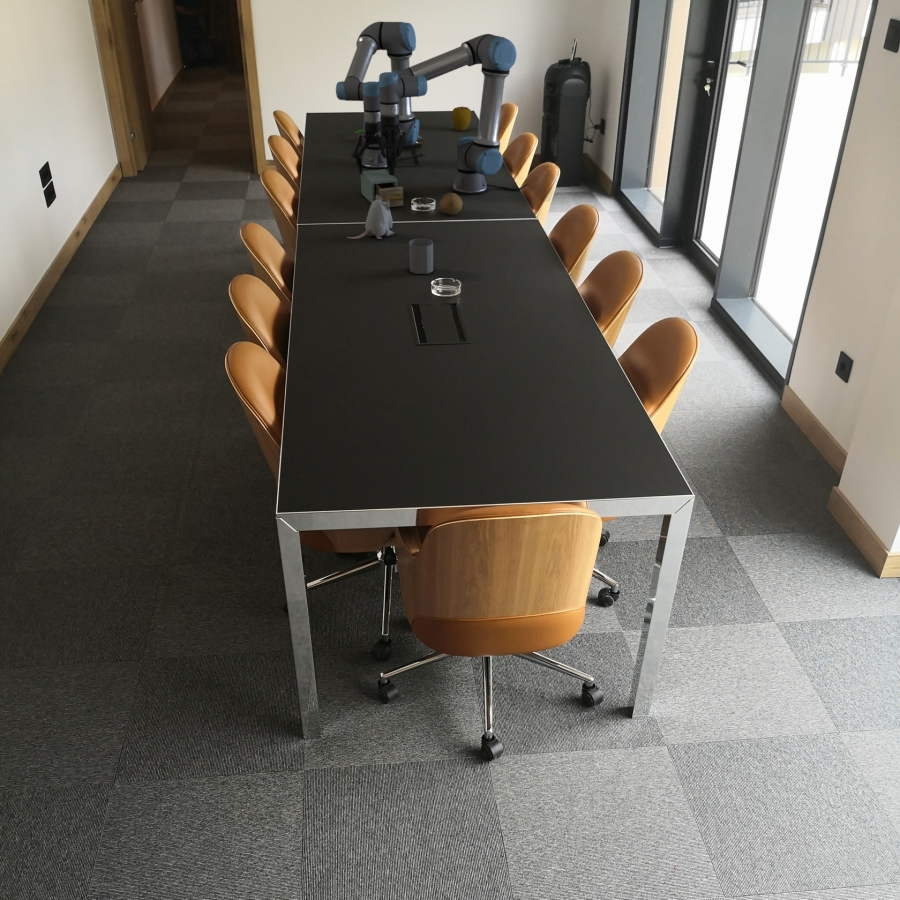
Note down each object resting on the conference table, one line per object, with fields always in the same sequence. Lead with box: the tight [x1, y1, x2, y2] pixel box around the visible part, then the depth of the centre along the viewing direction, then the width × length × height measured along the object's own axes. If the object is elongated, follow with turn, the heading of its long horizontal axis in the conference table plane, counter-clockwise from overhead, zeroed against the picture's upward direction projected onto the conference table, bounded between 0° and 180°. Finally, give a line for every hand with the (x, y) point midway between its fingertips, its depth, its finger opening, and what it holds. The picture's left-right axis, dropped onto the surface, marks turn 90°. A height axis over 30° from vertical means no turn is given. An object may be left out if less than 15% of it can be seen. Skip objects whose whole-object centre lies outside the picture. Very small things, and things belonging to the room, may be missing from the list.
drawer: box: [374, 182, 404, 208], centre depth 370 cm, size 21×10×8 cm, turn 21°
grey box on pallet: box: [360, 168, 399, 204], centre depth 379 cm, size 17×11×10 cm, turn 21°
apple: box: [451, 105, 472, 132], centre depth 487 cm, size 11×11×13 cm
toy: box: [345, 195, 395, 240], centre depth 331 cm, size 9×24×15 cm, turn 137°
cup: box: [408, 237, 434, 275], centre depth 305 cm, size 8×8×10 cm
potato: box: [439, 192, 464, 216], centre depth 360 cm, size 10×14×8 cm
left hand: (375, 171), depth 380 cm, fingers open, 13 cm apart
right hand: (391, 174), depth 359 cm, fingers closed
